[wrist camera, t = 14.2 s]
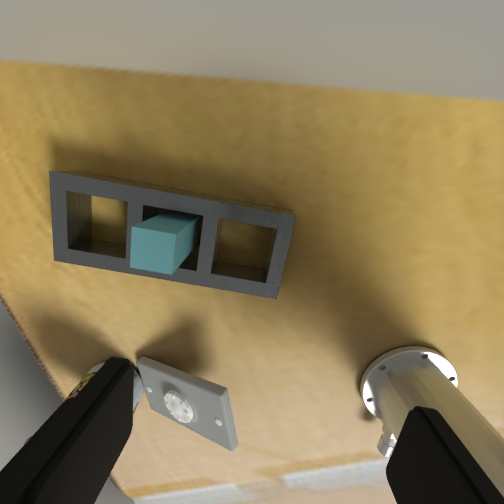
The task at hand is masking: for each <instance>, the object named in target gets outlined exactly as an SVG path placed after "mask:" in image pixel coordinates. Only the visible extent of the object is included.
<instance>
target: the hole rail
mask: <svg viewBox="0 0 504 504" xmlns="http://www.w3.org/2000/svg"><path fill="white" fill-rule="evenodd" d="M49 175H50V194H51V213H52V231H53V250H54V261H59V262H65V263H71V264H77V265H82V266H88V267H94V268H100V269H106V270H112V271H117V272H123V273H129V274H135V275H141V276H147V277H152V278H158V279H164V280H170V281H176V282H181V283H187V284H193V285H199V286H205V287H211V288H216V289H222V290H228V291H234V292H240V293H245V294H251V295H257V296H263V297H269V298H275V299H277V296H278V292H279V287H280V283H281V279H282V274H283V270H284V266H285V262H286V257H287V253H288V249H289V244H290V240H291V236H292V232H293V227H294V223H295V219H296V216H295V214H294V213H293V212H292V211H291V210H286V209H280V208H275V207H270V206H264V205H259V204H253V203H248V202H243V201H237V200H232V199H226V198H221V197H216V196H210V195H205V194H199V193H194V192H188V191H183V190H178V189H172V188H167V187H161V186H156V185H151V184H145V183H140V182H134V181H129V180H124V179H118V178H113V177H107V176H102V175H97V174H91V173H86V172H80V171H49ZM91 195H93V196H98V197H104V198H109V199H115V200H120V201H126V202H128V207H127V236H126V245H121V244H116V243H110V242H104V241H99V240H93V239H92V230H91ZM157 207H159V208H164V209H170V210H175V211H181V212H186V213H192V214H197V215H203V224H202V232H201V240H200V248H199V256H198V258H195V257H190V256H187V257H186V259H185V260H184V261H183V262H182V263H181V265H180V266H179V267H178V268H177V269H176V271H175V272H174V273H173V274H172V275H170V274H165V273H159V272H153V271H148V270H142V269H136V268H131V267H130V254H131V232H132V226H134V225H136V224H139V223H141V222H143V221H146V220H148V219H150V218H153V217H155V216H157ZM222 219H225V220H230V221H236V222H241V223H247V224H252V225H258V226H263V227H269V228H274V229H273V234H272V239H271V243H270V248H269V253H268V258H267V262H266V267H265V270H264V269H258V268H252V267H247V266H241V265H235V264H230V263H224V262H218V261H216V260H217V253H218V246H219V239H220V233H221V226H222Z"/></svg>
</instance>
